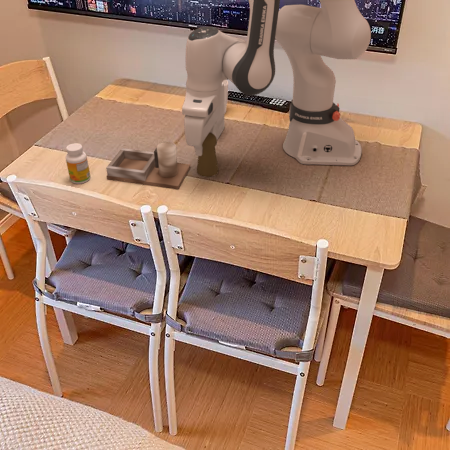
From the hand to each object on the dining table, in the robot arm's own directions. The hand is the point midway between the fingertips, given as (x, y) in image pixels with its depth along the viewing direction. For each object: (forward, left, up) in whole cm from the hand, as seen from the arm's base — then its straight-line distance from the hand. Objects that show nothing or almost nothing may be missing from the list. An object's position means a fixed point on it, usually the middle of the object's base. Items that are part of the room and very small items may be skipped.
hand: (204, 146), depth 139 cm
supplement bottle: (+31, +12, -8) cm, 34 cm away
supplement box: (+5, -21, -8) cm, 23 cm away
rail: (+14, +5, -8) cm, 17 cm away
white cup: (+6, -36, -8) cm, 38 cm away
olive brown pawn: (-1, 0, -8) cm, 8 cm away
